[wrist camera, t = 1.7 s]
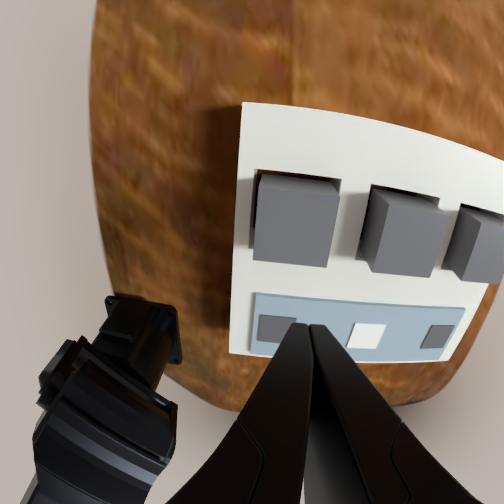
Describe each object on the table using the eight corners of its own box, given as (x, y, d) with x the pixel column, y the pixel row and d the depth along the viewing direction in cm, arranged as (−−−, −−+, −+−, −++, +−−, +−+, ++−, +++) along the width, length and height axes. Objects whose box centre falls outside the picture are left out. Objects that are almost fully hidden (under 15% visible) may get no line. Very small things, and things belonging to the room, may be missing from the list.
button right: (478, 263, 16) (498, 284, 14) (441, 258, 16) (461, 280, 14) (494, 215, 14) (518, 232, 12) (457, 206, 15) (481, 223, 12)
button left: (320, 243, 17) (326, 267, 14) (256, 236, 17) (252, 260, 14) (330, 181, 15) (340, 196, 12) (262, 173, 15) (258, 186, 13)
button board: (436, 337, 22) (449, 363, 19) (234, 325, 23) (228, 356, 20) (498, 160, 15) (527, 172, 12) (248, 104, 15) (241, 101, 12)
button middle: (411, 254, 16) (429, 278, 14) (359, 248, 16) (371, 272, 14) (427, 198, 15) (449, 215, 12) (372, 188, 15) (389, 204, 12)
